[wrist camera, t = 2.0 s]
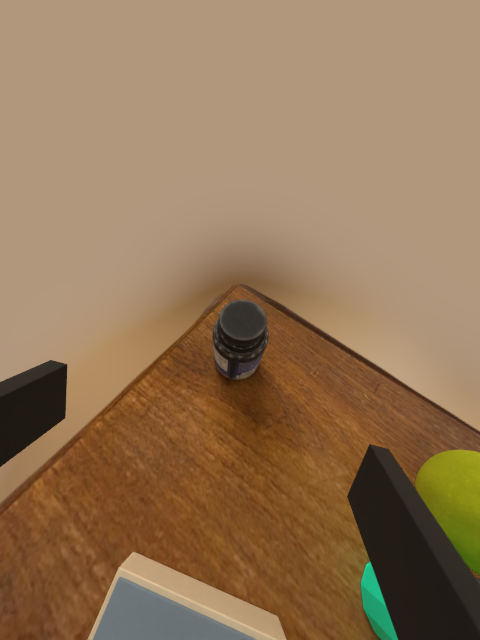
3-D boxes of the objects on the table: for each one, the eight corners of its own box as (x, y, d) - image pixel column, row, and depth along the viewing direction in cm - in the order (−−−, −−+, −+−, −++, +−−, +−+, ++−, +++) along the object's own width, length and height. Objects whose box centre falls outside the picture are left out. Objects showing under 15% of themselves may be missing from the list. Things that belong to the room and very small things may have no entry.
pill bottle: (261, 344, 33) (278, 299, 24) (255, 386, 30) (272, 353, 21) (219, 336, 33) (219, 288, 24) (209, 376, 30) (204, 341, 21)
